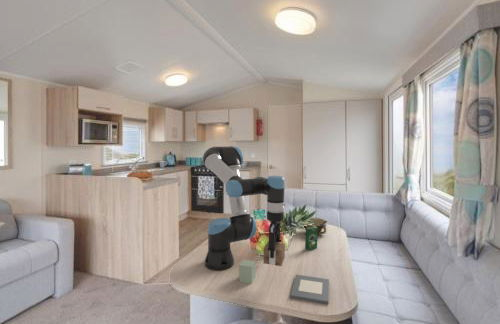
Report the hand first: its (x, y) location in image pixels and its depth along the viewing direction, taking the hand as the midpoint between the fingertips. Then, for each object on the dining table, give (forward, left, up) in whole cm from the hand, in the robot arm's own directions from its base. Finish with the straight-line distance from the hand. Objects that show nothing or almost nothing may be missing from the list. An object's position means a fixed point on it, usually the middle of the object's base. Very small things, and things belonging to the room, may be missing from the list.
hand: (274, 259), depth 121 cm
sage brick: (-13, 0, -11) cm, 17 cm away
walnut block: (0, 0, 0) cm, 0 cm away
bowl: (+13, +74, -11) cm, 76 cm away
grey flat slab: (+16, 0, -11) cm, 20 cm away
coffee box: (+13, +46, -11) cm, 49 cm away
